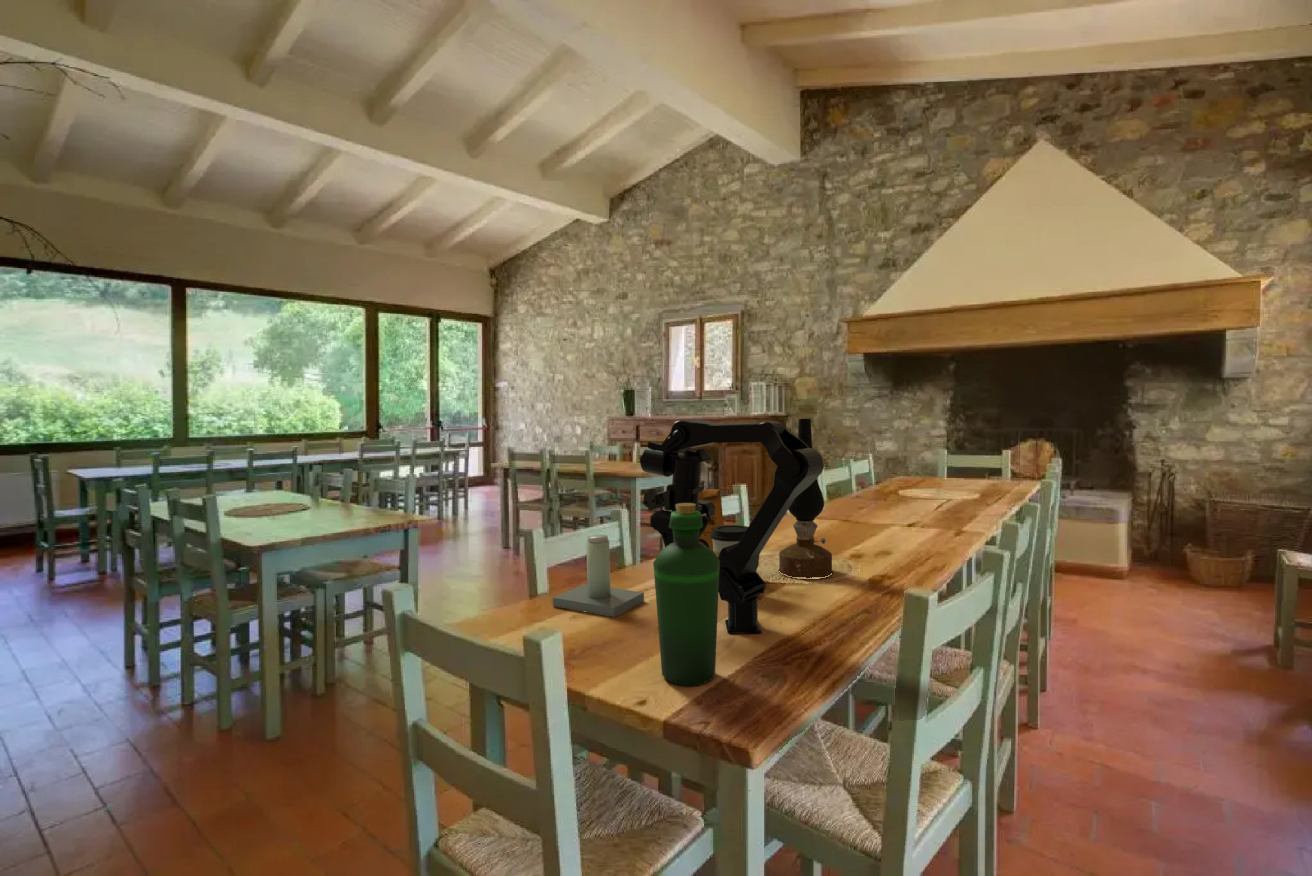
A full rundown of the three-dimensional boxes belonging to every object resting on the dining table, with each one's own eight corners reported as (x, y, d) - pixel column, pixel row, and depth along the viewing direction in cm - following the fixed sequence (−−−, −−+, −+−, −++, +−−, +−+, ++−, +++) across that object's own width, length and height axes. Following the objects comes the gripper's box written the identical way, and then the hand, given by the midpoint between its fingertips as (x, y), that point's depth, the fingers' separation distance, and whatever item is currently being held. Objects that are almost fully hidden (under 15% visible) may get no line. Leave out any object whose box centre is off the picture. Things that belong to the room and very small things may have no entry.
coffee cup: (753, 587, 155) (752, 524, 154) (755, 599, 145) (754, 532, 144) (711, 586, 156) (710, 524, 155) (710, 599, 146) (709, 532, 145)
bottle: (717, 661, 111) (714, 498, 110) (726, 689, 101) (723, 509, 99) (654, 664, 111) (651, 500, 109) (656, 692, 100) (653, 511, 99)
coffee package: (722, 580, 161) (721, 491, 160) (674, 577, 165) (672, 490, 164) (731, 570, 170) (730, 486, 169) (685, 567, 174) (684, 485, 173)
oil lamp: (797, 595, 159) (796, 437, 148) (765, 570, 173) (761, 423, 162) (845, 582, 164) (847, 427, 153) (809, 558, 177) (809, 415, 167)
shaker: (604, 599, 141) (602, 539, 140) (583, 597, 143) (582, 538, 142) (614, 592, 146) (613, 535, 145) (594, 590, 148) (593, 533, 147)
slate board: (644, 601, 146) (643, 592, 146) (614, 617, 135) (614, 607, 135) (585, 591, 154) (585, 583, 153) (553, 606, 143) (552, 597, 143)
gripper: (672, 469, 146) (668, 537, 148) (628, 480, 130) (624, 557, 132) (718, 476, 141) (713, 547, 143) (678, 489, 124) (673, 568, 126)
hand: (681, 554), depth 136 cm, fingers open, 9 cm apart
